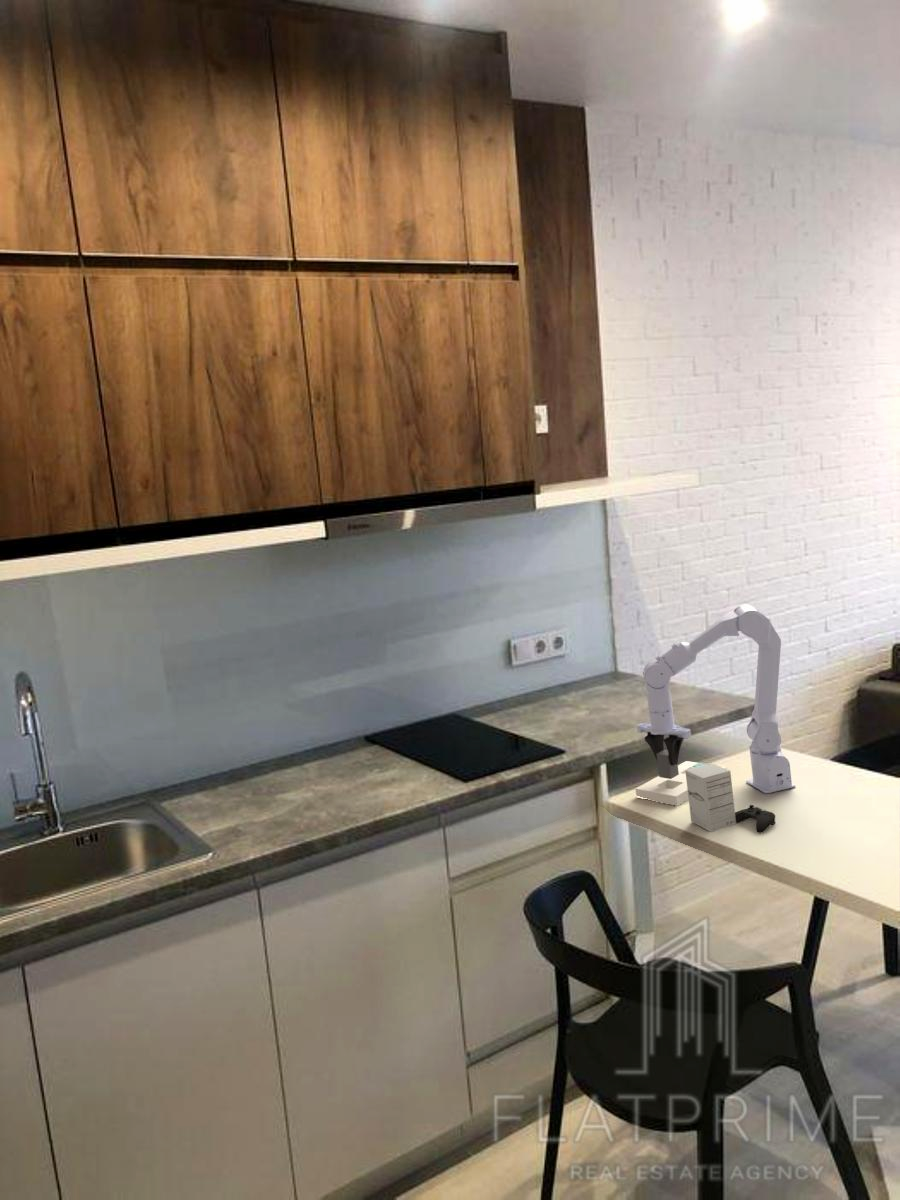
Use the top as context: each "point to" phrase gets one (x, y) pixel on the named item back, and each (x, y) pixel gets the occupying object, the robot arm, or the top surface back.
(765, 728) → the robot arm
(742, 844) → the top surface
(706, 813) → the supplement box
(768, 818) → the game controller
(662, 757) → the plug
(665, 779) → the panel
